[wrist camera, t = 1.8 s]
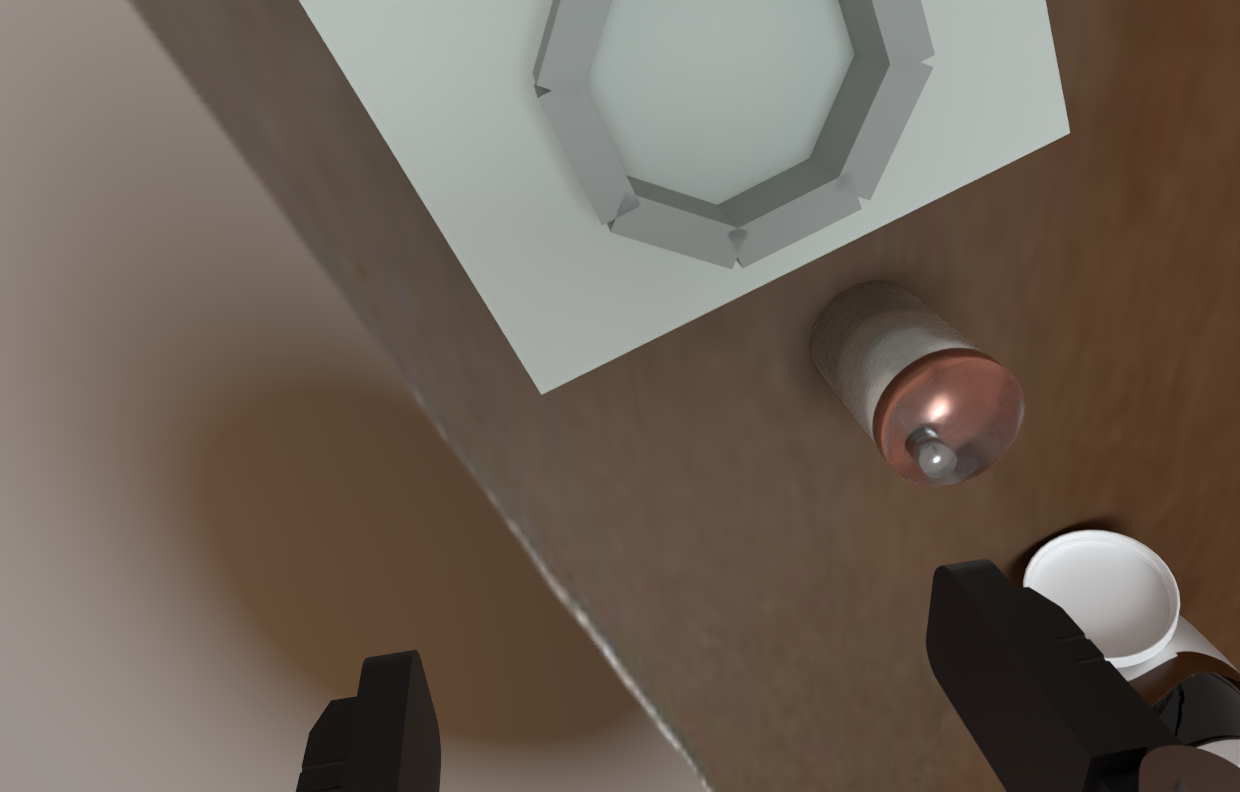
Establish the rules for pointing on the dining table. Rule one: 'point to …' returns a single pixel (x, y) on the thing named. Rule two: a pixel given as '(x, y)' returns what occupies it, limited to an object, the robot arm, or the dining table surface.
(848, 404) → the spout can
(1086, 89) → the dining table surface
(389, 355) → the dining table surface
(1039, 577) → the spread jar
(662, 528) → the dining table surface
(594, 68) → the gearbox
